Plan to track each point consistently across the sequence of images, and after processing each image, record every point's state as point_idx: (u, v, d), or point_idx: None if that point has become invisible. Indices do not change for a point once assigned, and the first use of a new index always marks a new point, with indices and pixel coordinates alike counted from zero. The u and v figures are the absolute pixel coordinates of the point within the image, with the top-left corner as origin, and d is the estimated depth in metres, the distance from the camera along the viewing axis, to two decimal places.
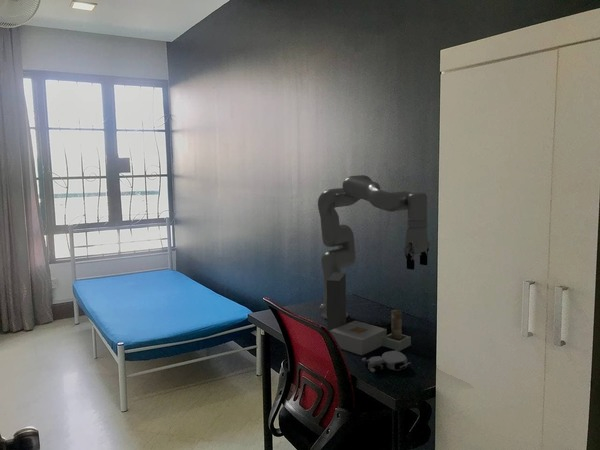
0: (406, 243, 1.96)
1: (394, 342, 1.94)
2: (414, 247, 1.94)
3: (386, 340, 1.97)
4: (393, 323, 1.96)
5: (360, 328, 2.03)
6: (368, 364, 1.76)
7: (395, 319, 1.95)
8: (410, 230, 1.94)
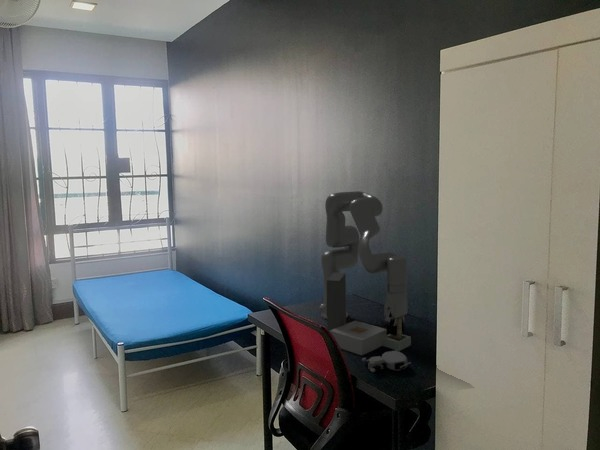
0: (385, 307, 1.94)
1: (394, 342, 1.94)
2: (393, 312, 1.92)
3: (386, 340, 1.97)
4: None
5: (360, 328, 2.03)
6: (368, 364, 1.76)
7: None
8: (389, 295, 1.93)
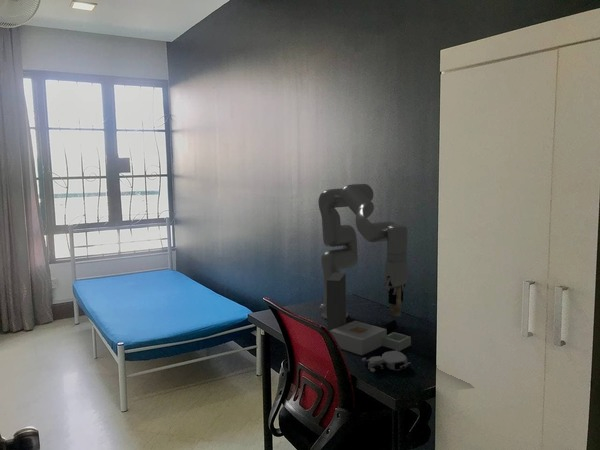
0: (385, 276, 1.93)
1: (394, 342, 1.94)
2: (392, 281, 1.91)
3: (386, 340, 1.97)
4: None
5: (360, 328, 2.03)
6: (368, 364, 1.76)
7: None
8: (389, 263, 1.91)
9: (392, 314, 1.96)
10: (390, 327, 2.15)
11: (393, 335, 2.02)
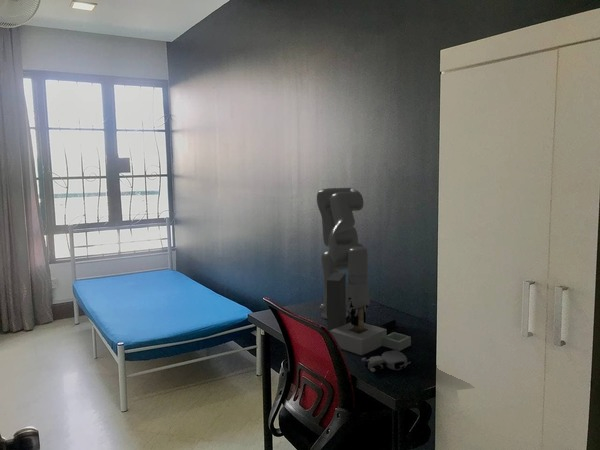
0: (346, 298, 1.96)
1: (394, 342, 1.94)
2: (353, 302, 1.94)
3: (386, 340, 1.97)
4: None
5: None
6: (368, 364, 1.76)
7: None
8: (350, 285, 1.94)
9: None
10: (389, 327, 2.16)
11: (393, 335, 2.02)
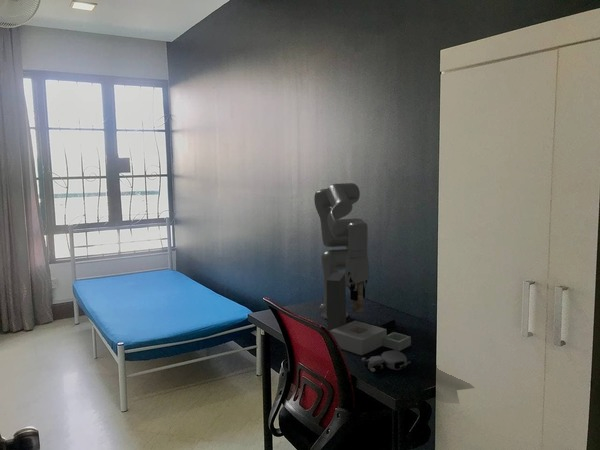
0: (346, 272, 1.95)
1: (394, 342, 1.94)
2: (353, 277, 1.93)
3: (386, 340, 1.97)
4: None
5: (360, 328, 2.03)
6: (368, 364, 1.76)
7: None
8: (349, 260, 1.93)
9: (354, 310, 1.98)
10: (388, 327, 2.16)
11: (393, 335, 2.02)
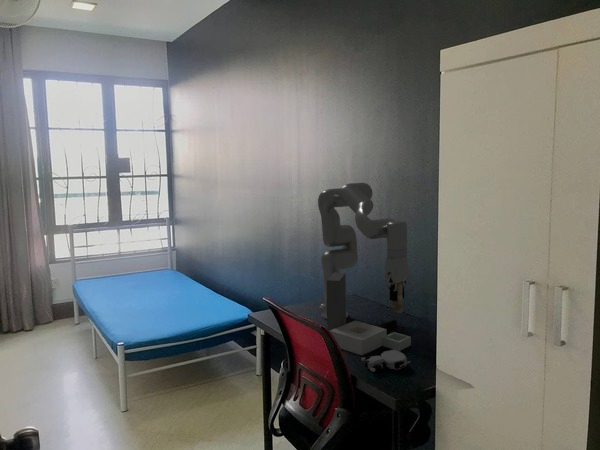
0: (385, 272, 1.92)
1: (394, 342, 1.94)
2: (393, 277, 1.90)
3: (386, 340, 1.97)
4: None
5: (360, 328, 2.03)
6: (368, 364, 1.76)
7: None
8: (389, 259, 1.91)
9: (394, 311, 1.95)
10: (388, 327, 2.16)
11: (393, 335, 2.02)
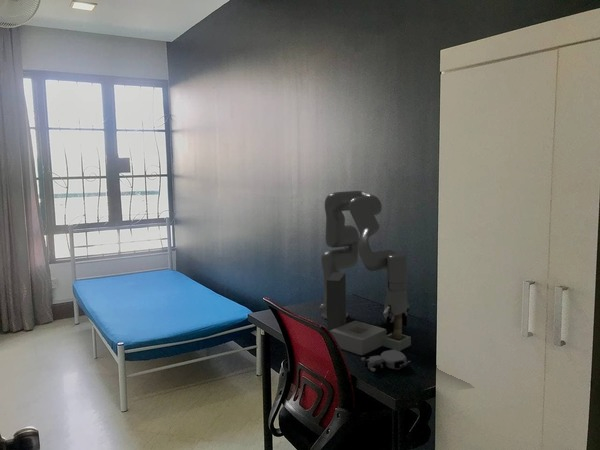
0: (385, 305, 1.94)
1: (394, 342, 1.94)
2: (393, 310, 1.92)
3: (386, 340, 1.97)
4: None
5: (360, 328, 2.03)
6: (368, 363, 1.76)
7: (395, 319, 1.95)
8: (389, 292, 1.93)
9: None
10: None
11: None
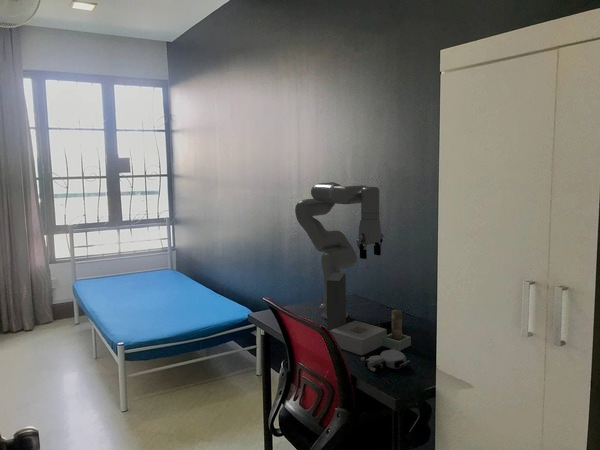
0: (359, 234, 2.08)
1: (394, 342, 1.94)
2: (366, 238, 2.06)
3: (386, 340, 1.97)
4: (393, 323, 1.96)
5: (360, 328, 2.03)
6: (368, 363, 1.77)
7: (395, 319, 1.95)
8: (362, 222, 2.07)
9: None
10: (387, 326, 2.17)
11: None
